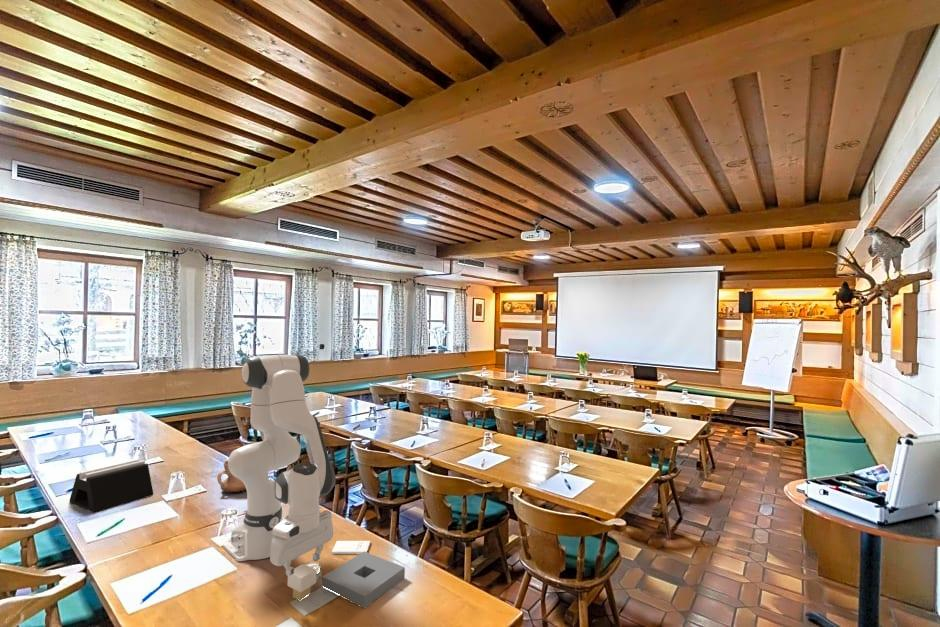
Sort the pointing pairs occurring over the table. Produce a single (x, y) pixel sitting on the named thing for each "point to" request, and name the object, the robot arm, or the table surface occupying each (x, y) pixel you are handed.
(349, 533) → the table surface
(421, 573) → the table surface
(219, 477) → the ceramic jug
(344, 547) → the external hard drive
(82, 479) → the device stand
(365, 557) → the socket
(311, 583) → the cream white block
